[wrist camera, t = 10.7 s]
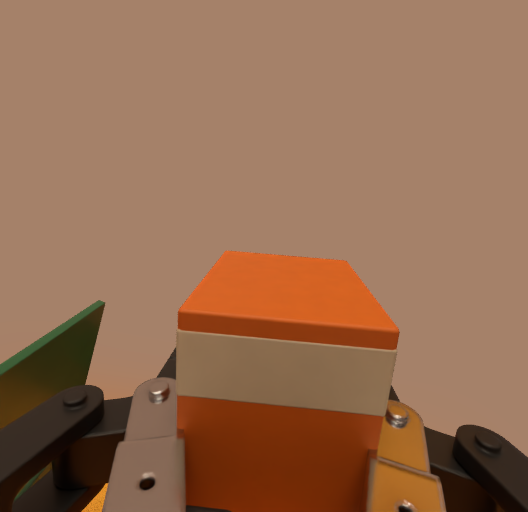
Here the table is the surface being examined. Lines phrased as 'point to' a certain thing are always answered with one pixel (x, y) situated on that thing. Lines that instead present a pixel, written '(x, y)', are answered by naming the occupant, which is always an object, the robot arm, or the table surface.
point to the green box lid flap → (49, 365)
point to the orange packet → (281, 384)
